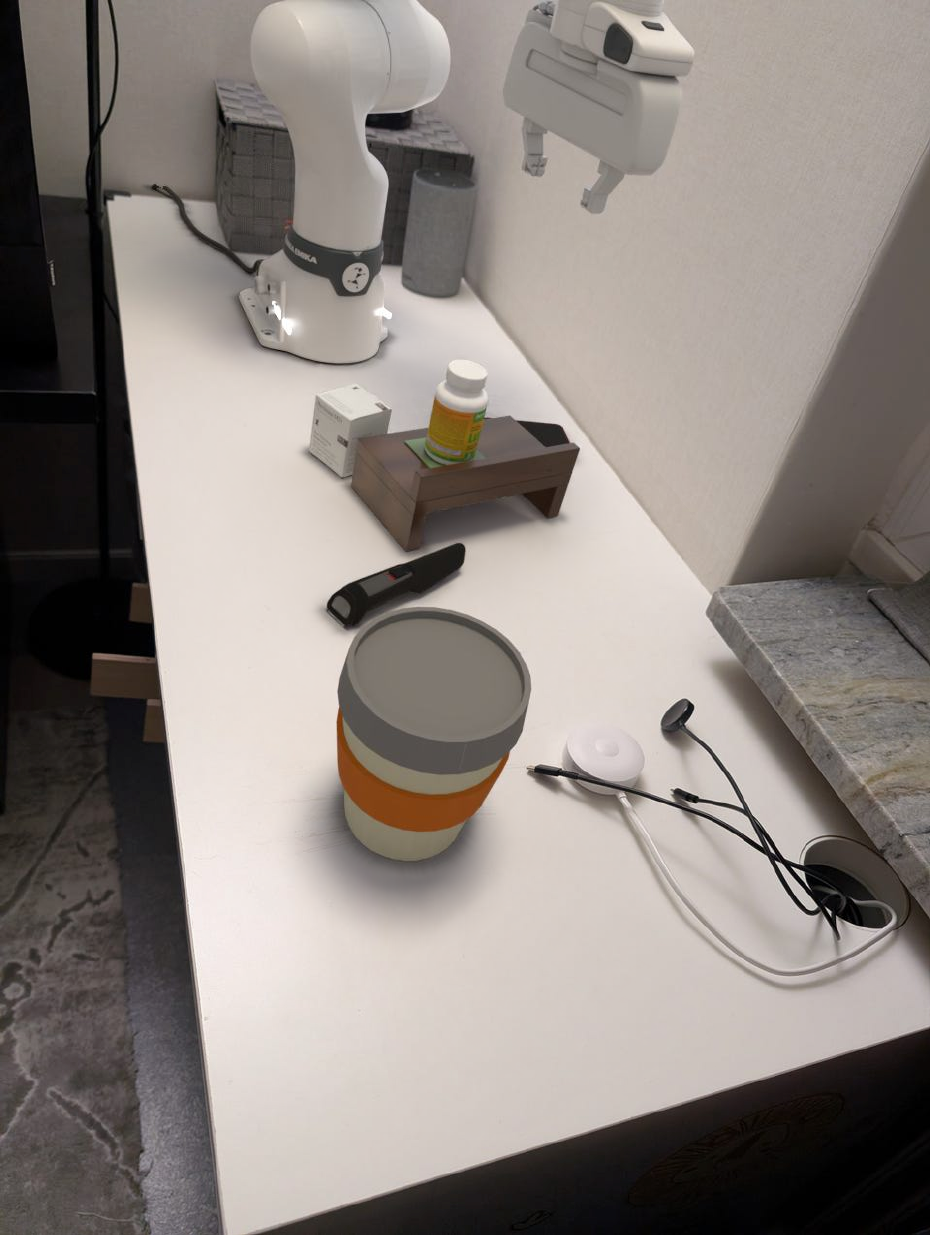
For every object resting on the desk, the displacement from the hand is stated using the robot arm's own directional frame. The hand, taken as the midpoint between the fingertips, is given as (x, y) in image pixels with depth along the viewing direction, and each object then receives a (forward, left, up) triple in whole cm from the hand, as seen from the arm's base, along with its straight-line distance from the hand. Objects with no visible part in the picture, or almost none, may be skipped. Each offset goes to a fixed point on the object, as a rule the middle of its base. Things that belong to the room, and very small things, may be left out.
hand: (560, 192), depth 86 cm
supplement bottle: (+4, -10, -25) cm, 27 cm away
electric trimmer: (+16, -22, -31) cm, 41 cm away
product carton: (-6, -16, -31) cm, 36 cm away
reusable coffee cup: (+38, -34, -31) cm, 60 cm away
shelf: (+5, -8, -31) cm, 32 cm away
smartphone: (-4, +6, -31) cm, 32 cm away
